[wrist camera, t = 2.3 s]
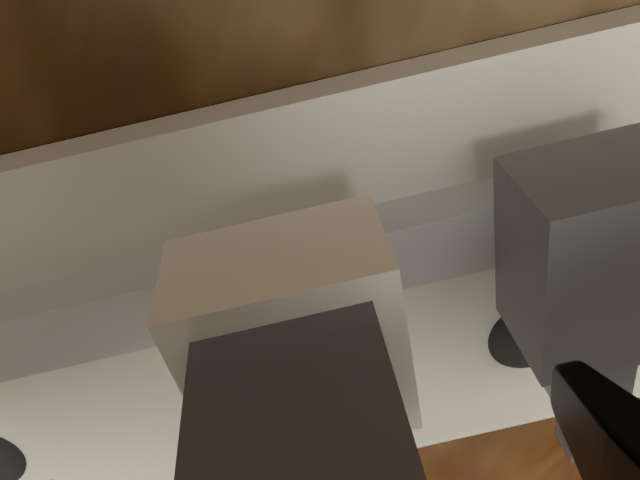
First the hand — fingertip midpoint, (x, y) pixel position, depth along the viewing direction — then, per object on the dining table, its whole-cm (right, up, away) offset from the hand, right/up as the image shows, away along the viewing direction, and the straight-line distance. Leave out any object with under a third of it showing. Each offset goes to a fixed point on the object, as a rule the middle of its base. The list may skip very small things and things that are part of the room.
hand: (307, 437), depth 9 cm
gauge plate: (-2, +1, +6) cm, 7 cm away
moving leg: (0, +1, +5) cm, 5 cm away
